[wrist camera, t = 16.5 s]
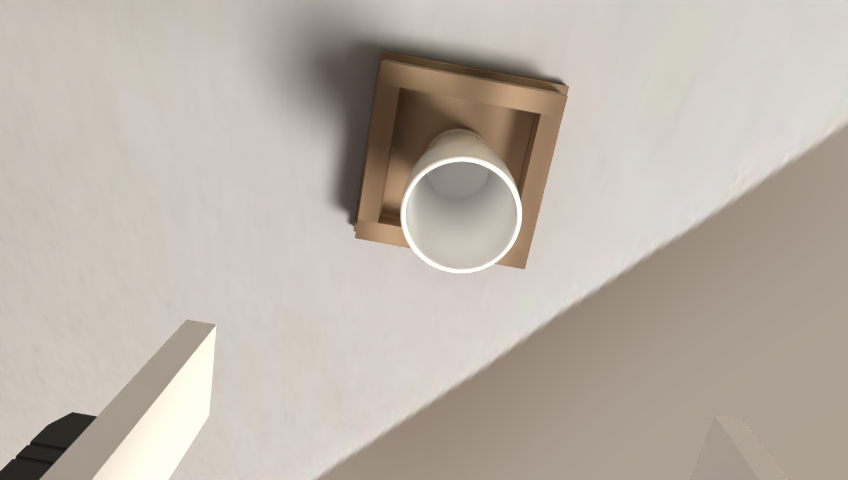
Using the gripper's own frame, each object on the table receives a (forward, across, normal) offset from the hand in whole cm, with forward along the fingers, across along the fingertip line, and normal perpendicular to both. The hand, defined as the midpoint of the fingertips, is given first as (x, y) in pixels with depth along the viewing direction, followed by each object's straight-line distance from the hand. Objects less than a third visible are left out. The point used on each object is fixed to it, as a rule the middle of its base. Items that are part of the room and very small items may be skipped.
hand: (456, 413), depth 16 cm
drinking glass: (+34, 0, 0) cm, 34 cm away
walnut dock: (+34, 0, 0) cm, 35 cm away
